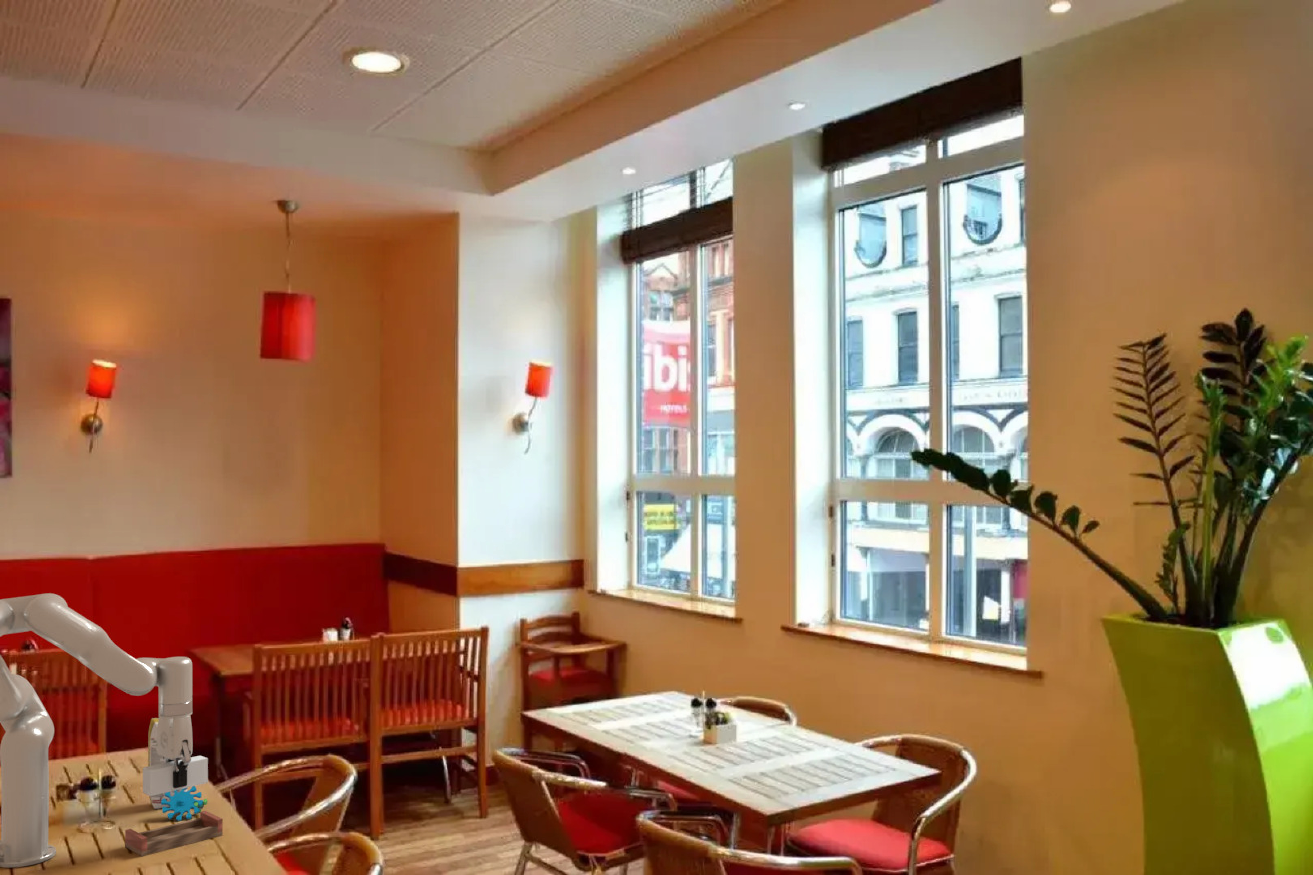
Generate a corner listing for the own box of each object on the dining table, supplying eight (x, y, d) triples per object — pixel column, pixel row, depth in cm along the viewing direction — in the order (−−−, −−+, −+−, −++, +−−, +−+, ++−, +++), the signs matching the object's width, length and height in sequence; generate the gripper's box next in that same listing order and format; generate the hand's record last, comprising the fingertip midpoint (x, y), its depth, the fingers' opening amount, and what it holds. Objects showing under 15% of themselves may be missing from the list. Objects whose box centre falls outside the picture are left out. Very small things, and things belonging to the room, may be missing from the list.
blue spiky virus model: (157, 817, 279) (165, 781, 286) (156, 829, 283) (164, 793, 290) (204, 819, 282) (210, 783, 289) (202, 830, 286) (209, 795, 293)
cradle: (141, 856, 256) (142, 838, 256) (125, 846, 262) (125, 829, 263) (222, 835, 270) (222, 818, 271) (204, 826, 277) (204, 810, 277)
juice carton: (183, 797, 301) (184, 709, 302) (188, 805, 294) (189, 714, 295) (146, 803, 296) (147, 713, 297) (150, 811, 289) (151, 719, 290)
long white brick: (150, 796, 260) (150, 770, 260) (142, 792, 263) (142, 767, 263) (207, 782, 271) (207, 758, 271) (200, 779, 273) (200, 755, 273)
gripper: (145, 706, 270) (145, 782, 270) (175, 717, 259) (175, 795, 258) (175, 701, 276) (175, 775, 275) (206, 711, 264) (206, 788, 264)
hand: (175, 784), depth 267 cm, fingers closed on long white brick, 4 cm apart
